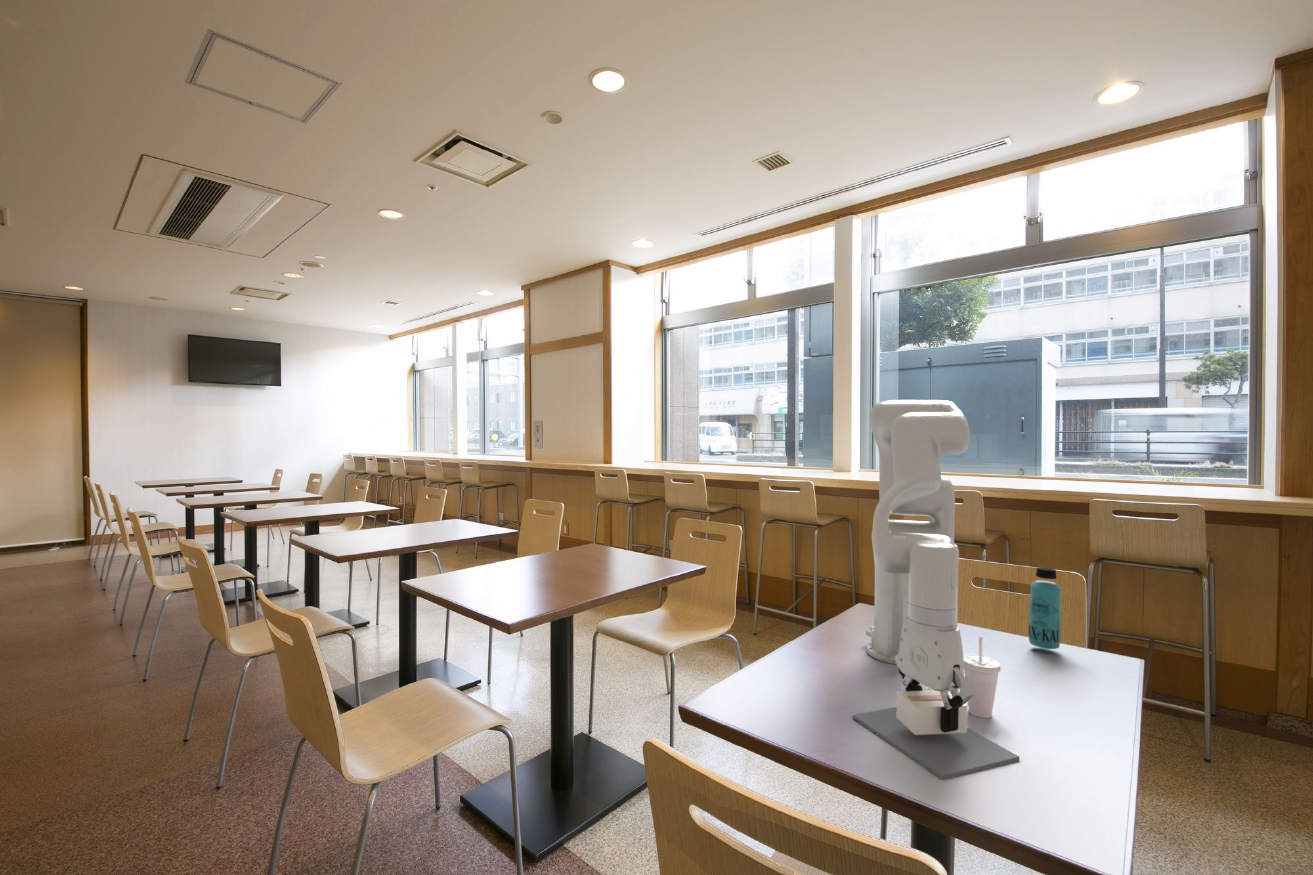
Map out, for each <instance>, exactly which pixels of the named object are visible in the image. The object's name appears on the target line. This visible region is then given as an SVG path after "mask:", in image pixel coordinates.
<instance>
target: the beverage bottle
mask: <svg viewBox="0 0 1313 875" xmlns="http://www.w3.org/2000/svg"><path fill="white" fill-rule="evenodd" d="M1035 576H1036V577H1038V578H1041V579H1048V580H1038V579H1037V580H1035V581H1033V582H1032V583H1031V584H1030V585H1029V586H1030V596H1029V597H1030V598H1029V599H1030V600H1029V601H1030V602H1029V615H1028V618H1029V619H1028V637H1027V638H1028V641H1029V644H1030V645H1033V646H1035V647H1038V648H1042V649H1047V650H1056V649H1059V648H1060V645H1061V641H1062V640H1061V638H1062V636H1061V635H1062V633H1061V630H1062V628H1061V626H1062V624H1061V619H1062V618H1061V615H1062V613H1061V611H1062V610H1061V603H1062V602H1061V601H1062V600H1061V598H1062V588H1061V587H1060V586H1059V585H1058V584H1057V583H1056V582H1052V581H1049V580H1056V579H1057V570H1056V569H1055V568H1050V567H1042V566H1041V567H1039V566H1038V567H1036V572H1035Z"/></svg>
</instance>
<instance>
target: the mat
mask: <svg viewBox="0 0 1313 875" xmlns="http://www.w3.org/2000/svg"><path fill="white" fill-rule="evenodd" d="M896 710H897V706H893V707H888V708H883V709H877V710H873V711H866V712H862V713H856V714H852V719H853V720H854V719H855V720H854V721H856V720H857V721H859V722H858V723H859V724H860V723H861V724H860V725H862V724H863V725H864V726H863V725H862V726H863V727H864V728H866V727H867V728H866V729H868V730H869V729H870V730H871V732H872V731H873V732H875V733H876V734H878V735H877V737H879V736H880V737H879V738H881V739H882V738H883V739H884V740H883V739H882V740H883V741H885V740H886V741H887V742H886V741H885V742H886V743H887V744H889V745H891V746H892V747H893V748H895V749H896V750H898V751H900V752H901V753H902V754H903V755H905V756H906V757H908V758H910V759H911V760H913V761H914V762H916V763H917V764H918V765H920V766H921V765H922V766H921V767H923V768H924V769H926V770H927V771H929V772H930V773H931V774H933V775H934V774H935V775H934V776H935V777H937V776H938V777H937V778H939V779H940V778H941V779H940V780H942V779H943V780H945V779H944V778H947V779H949V778H954V776H955V777H959V776H962V775H967V774H970V773H974V772H978V771H983V770H986V769H990V768H993V767H994V768H995V767H999V766H1003V765H1005V764H1010V763H1014V762H1018V761H1020V755H1017V754H1015V753H1013V752H1012V751H1010V750H1008V749H1007V748H1005V747H1003V746H1001V745H999V743H998V744H997V743H996V742H993V741H992V740H990V739H989V738H987V737H985V736H984V735H982V734H979V733H977V732H976V731H974V730H972V729H970V728H969V727H967V733H949V734H924V735H915V734H914V733H913V732H911V731H910V730H909V729H908V728H907V727H906V726H905V725H904V724H903V723H902V722H901V721H900V720H899V719H898V718H897V717H896ZM857 721H856V722H857ZM870 730H869V731H870ZM873 732H872V733H873ZM875 733H874V734H875ZM876 734H875V735H876Z"/></svg>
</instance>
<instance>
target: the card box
mask: <svg viewBox="0 0 1313 875" xmlns="http://www.w3.org/2000/svg"><path fill="white" fill-rule="evenodd" d="M948 694H949V697H950V699H951V698H952V695H951V692H950V691H948ZM896 707H897V710H896V717H897V718H898V719H899V720H900V721H901V722H902V723H903V724H904V725H905V726H906V727H907V728H908V729H909V730H910V731H911V732H913V733H914V734H915V735H924V734H949V733H967V728H968V704H966V703H965V704H963V706H962V707H959V714H958V730H956V731H951V732H946V733H944V732H942V731H941V729H940V726H941V707H944V704H943V701H942V697H941V694H940V692H938V691H935V690H933V689H931V690H929V689H928V690H922V691H906V690H903V691H902V690H900V691H899V690H898V691H896Z"/></svg>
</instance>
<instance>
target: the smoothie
mask: <svg viewBox="0 0 1313 875" xmlns="http://www.w3.org/2000/svg"><path fill="white" fill-rule="evenodd" d="M963 659H964V677H965V678H966V680H967V681H968V683H969V684H970V686H971V687H972V689H973V690H974V692H975V695H974V696H973V697H972V698H970V699H969V700H968V702H967V708H968V712H969V713H970V714H972V716H975V717H977V718H983V719H988V718H991V717H992V716H993V714H992V713H993V708H994V704H995V703H994V702H995V696H996V690H997V684H998V679H999V678H998V677H999V673H1000V672H1001V670H1002V669H1001V663H1000V662H999V661H998V660H996V659H994V658H991V657H989V656H983V636H982V635H981V636H980V635H979V637H978V655H977V654H968V655H963Z"/></svg>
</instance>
